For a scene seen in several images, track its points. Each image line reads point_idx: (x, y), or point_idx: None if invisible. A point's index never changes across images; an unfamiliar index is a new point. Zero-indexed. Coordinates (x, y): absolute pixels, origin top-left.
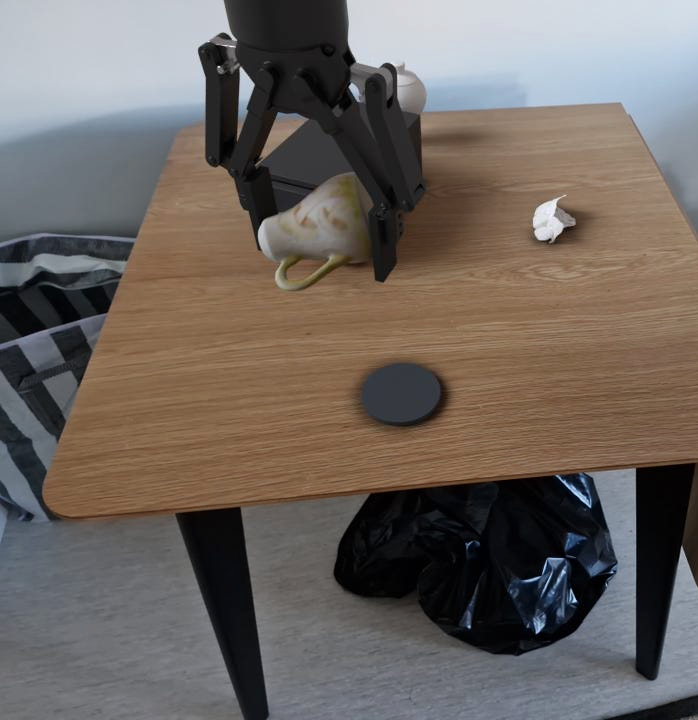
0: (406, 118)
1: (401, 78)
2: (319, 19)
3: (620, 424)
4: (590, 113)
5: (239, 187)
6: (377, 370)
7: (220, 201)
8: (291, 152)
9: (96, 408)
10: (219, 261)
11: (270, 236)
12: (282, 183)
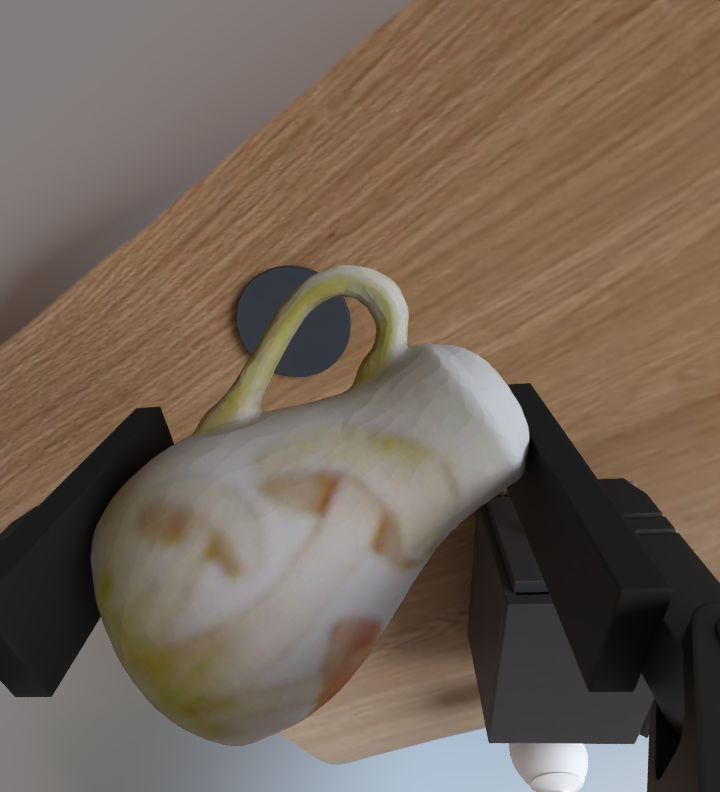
0: (504, 734)
1: (550, 785)
2: None
3: (37, 394)
4: (344, 753)
5: (679, 560)
6: (344, 345)
7: None
8: None
9: None
10: (682, 437)
11: (448, 399)
12: None
